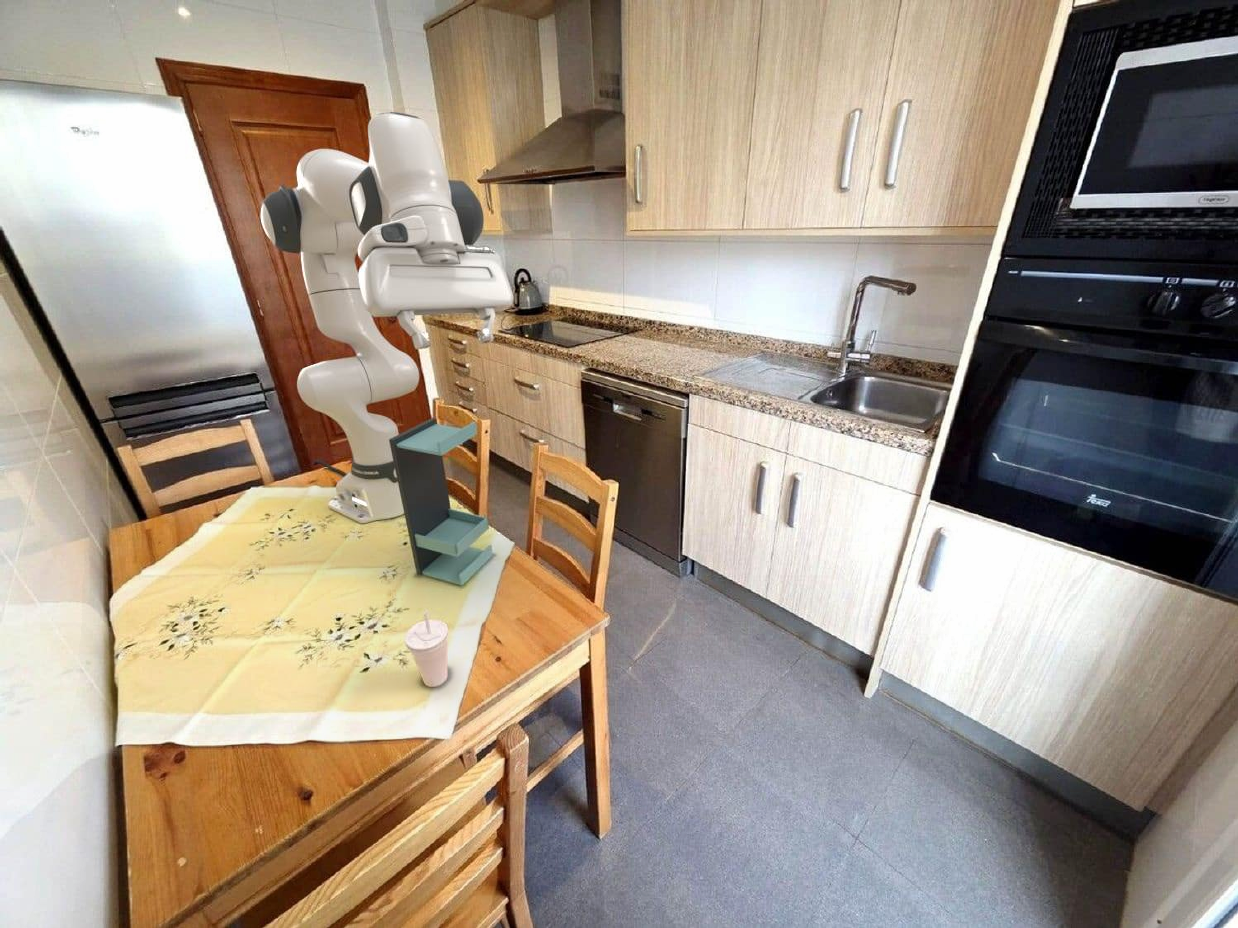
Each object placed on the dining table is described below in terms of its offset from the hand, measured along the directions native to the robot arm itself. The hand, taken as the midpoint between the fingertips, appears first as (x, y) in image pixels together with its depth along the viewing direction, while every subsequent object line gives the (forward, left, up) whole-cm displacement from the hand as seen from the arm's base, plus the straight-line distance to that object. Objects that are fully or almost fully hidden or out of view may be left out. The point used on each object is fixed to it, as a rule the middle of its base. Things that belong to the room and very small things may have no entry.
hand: (456, 345), depth 69 cm
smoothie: (-3, -13, -52) cm, 54 cm away
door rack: (-19, +13, -52) cm, 57 cm away
